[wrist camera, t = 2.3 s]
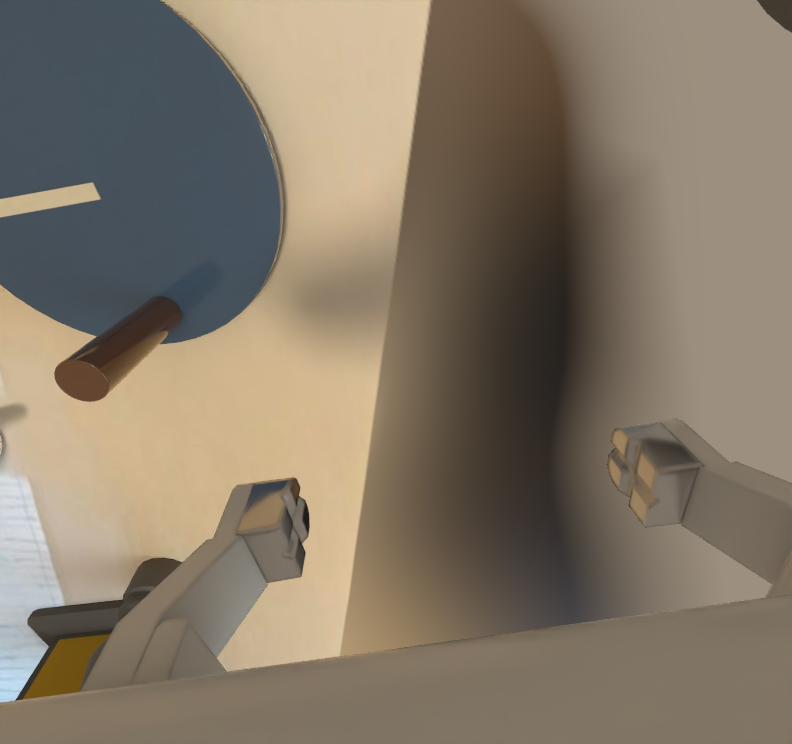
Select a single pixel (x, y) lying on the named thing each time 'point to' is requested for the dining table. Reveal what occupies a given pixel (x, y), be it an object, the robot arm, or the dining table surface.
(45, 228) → the blue disc with peg
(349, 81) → the dining table surface
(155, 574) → the candle holder
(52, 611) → the lantern
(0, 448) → the cup
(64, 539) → the dining table surface
